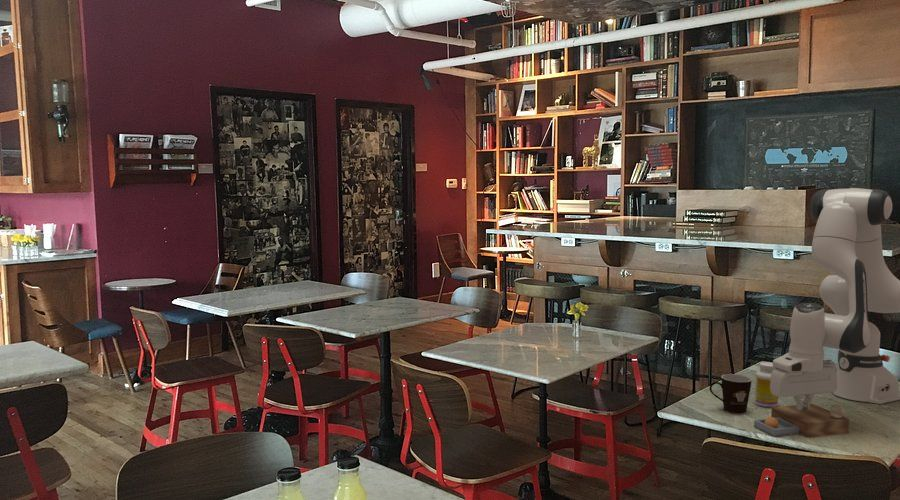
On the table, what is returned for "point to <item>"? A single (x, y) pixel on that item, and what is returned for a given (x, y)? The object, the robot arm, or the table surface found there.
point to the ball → (772, 422)
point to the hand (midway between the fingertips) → (802, 409)
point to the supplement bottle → (765, 386)
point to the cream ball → (836, 411)
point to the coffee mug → (734, 392)
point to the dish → (782, 429)
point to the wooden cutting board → (812, 420)
